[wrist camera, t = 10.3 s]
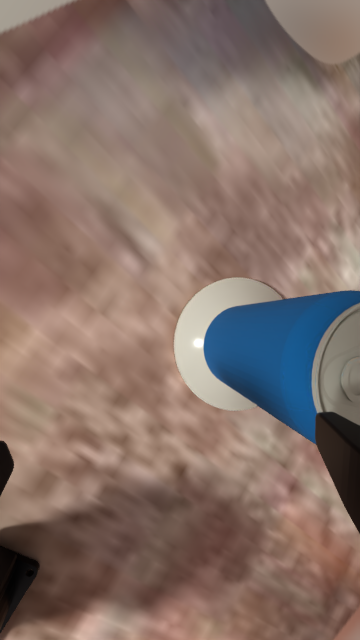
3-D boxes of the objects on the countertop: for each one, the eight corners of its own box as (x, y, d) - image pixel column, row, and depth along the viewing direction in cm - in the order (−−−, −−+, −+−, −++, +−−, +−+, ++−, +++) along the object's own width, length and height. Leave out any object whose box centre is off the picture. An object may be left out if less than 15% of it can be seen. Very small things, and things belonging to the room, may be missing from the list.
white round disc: (255, 431, 21) (258, 434, 21) (147, 365, 19) (147, 367, 19) (315, 323, 22) (319, 323, 22) (218, 253, 21) (221, 251, 20)
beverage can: (274, 381, 21) (459, 459, 9) (201, 387, 20) (307, 487, 8) (272, 305, 21) (455, 285, 9) (199, 306, 20) (301, 285, 8)
